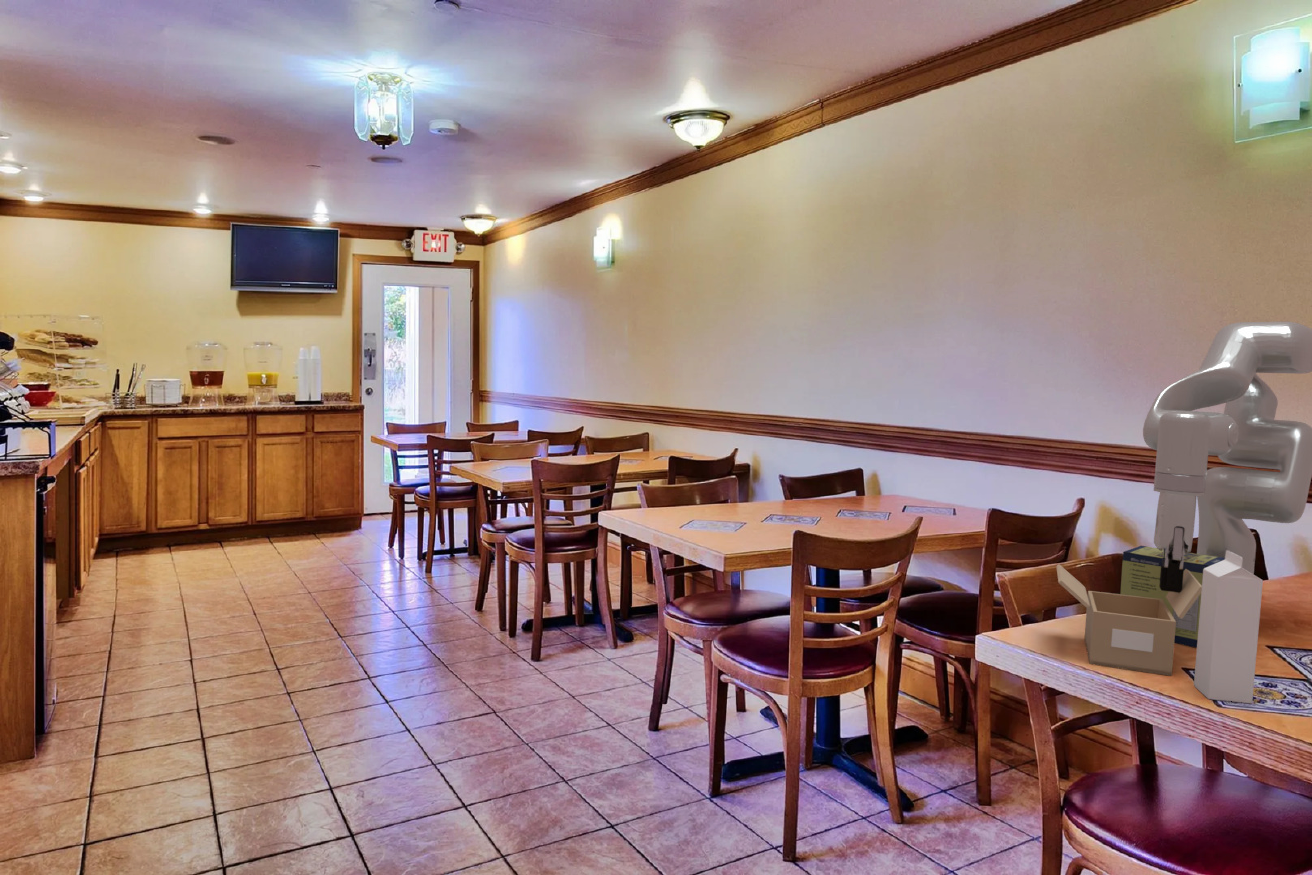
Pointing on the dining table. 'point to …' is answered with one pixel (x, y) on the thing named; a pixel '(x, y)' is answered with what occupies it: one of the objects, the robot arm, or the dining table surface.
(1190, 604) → the flap
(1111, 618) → the carton
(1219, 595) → the milk
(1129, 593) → the protein box
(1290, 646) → the dining table surface
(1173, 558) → the robot arm
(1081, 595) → the flap
